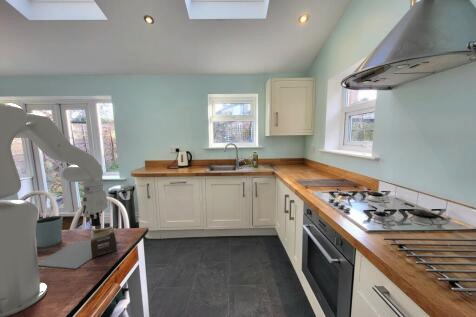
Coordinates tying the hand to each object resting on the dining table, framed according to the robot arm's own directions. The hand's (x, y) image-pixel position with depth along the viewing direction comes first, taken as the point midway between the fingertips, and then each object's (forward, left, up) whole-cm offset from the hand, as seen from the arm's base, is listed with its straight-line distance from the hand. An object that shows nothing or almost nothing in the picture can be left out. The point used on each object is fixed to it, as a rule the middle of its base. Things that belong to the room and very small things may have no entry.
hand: (95, 225), depth 94 cm
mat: (-10, 0, -8) cm, 13 cm away
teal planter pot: (-3, +23, -9) cm, 25 cm away
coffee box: (+1, -2, -5) cm, 6 cm away
